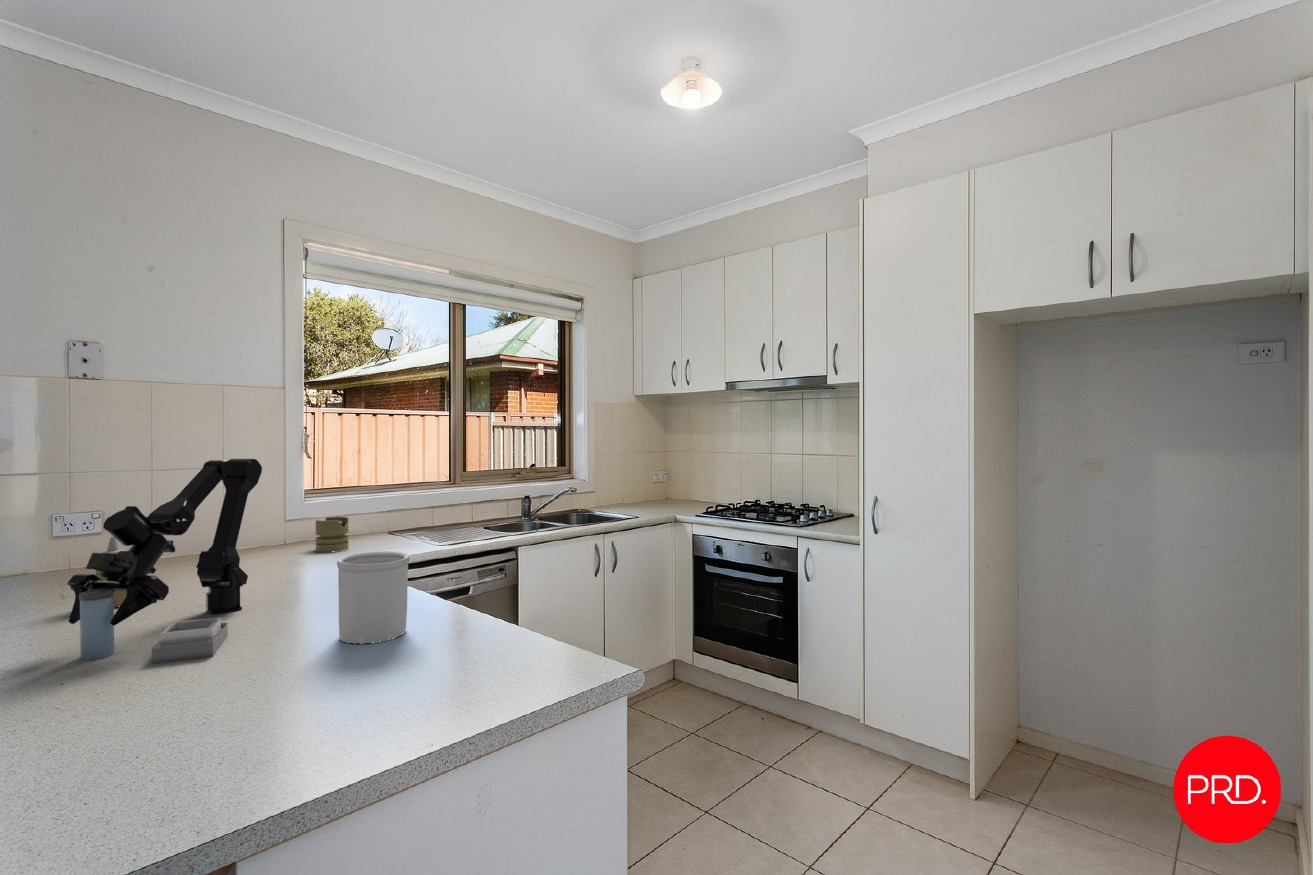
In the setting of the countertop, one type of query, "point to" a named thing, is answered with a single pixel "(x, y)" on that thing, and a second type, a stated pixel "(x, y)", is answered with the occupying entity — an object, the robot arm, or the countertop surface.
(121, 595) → the squeeze bottle
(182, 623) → the gray rectangular open-top holder
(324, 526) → the piston
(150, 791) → the countertop surface
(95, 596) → the capped blue cylinder
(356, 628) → the utensil holder
